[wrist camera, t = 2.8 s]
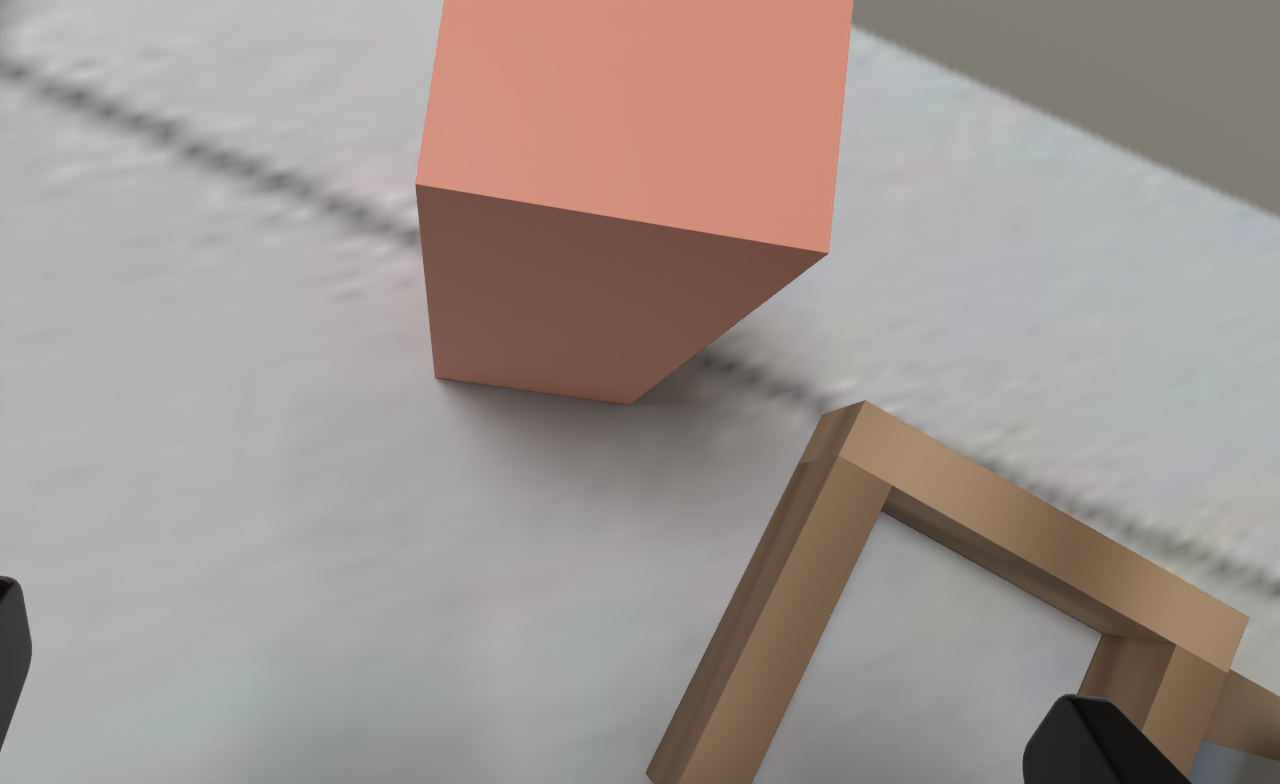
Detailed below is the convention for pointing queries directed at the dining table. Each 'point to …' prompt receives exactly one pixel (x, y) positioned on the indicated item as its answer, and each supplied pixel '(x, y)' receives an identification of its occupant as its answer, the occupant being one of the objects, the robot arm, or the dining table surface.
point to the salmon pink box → (621, 181)
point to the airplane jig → (1002, 543)
